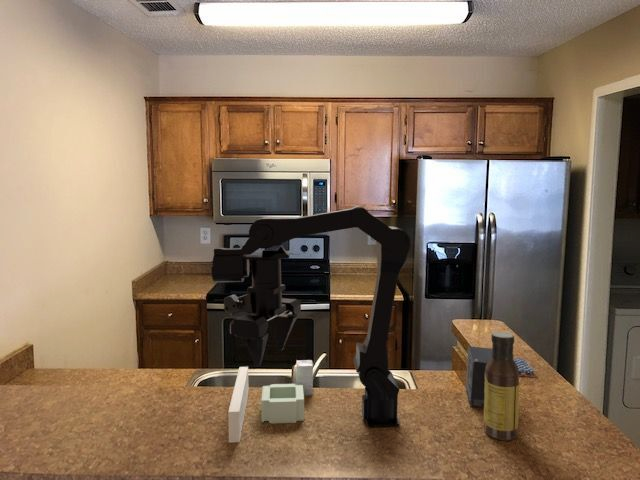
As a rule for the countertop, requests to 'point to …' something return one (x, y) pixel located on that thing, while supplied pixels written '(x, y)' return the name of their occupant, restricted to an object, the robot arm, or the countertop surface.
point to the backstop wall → (238, 405)
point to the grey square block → (305, 376)
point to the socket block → (282, 403)
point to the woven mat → (524, 367)
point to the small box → (476, 374)
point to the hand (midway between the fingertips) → (269, 357)
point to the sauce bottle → (501, 389)
